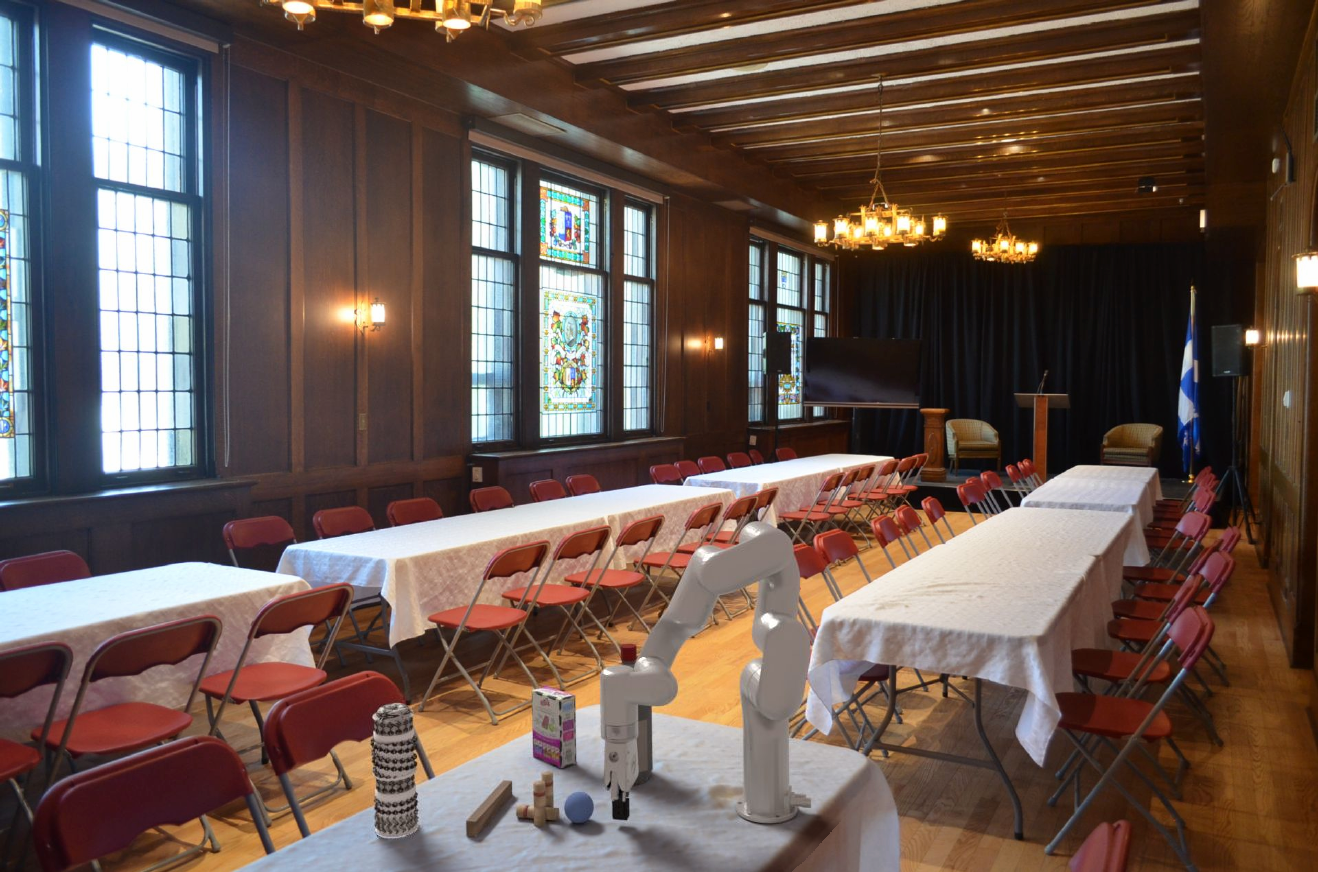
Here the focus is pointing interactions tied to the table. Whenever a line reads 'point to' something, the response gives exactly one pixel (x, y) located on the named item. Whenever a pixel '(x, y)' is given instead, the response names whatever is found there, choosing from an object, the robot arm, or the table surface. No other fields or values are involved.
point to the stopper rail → (488, 808)
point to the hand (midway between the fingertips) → (620, 817)
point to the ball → (579, 807)
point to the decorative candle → (394, 770)
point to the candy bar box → (554, 726)
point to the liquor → (640, 723)
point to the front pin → (528, 812)
